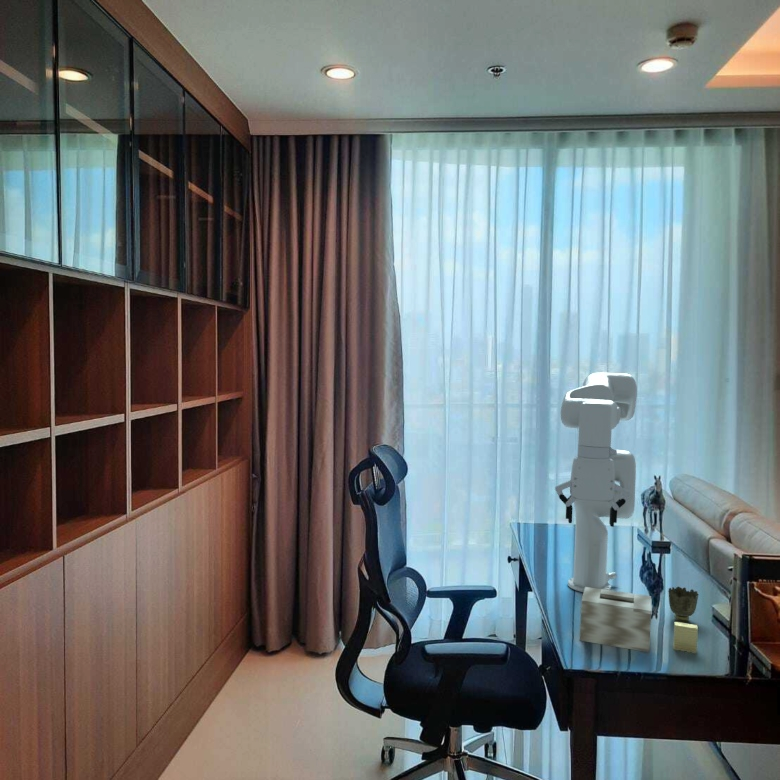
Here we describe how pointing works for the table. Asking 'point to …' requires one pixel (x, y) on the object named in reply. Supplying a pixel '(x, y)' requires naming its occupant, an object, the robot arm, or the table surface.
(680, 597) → the cup
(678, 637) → the yellow flat block
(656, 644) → the table surface
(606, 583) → the robot arm
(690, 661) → the table surface
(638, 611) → the box
